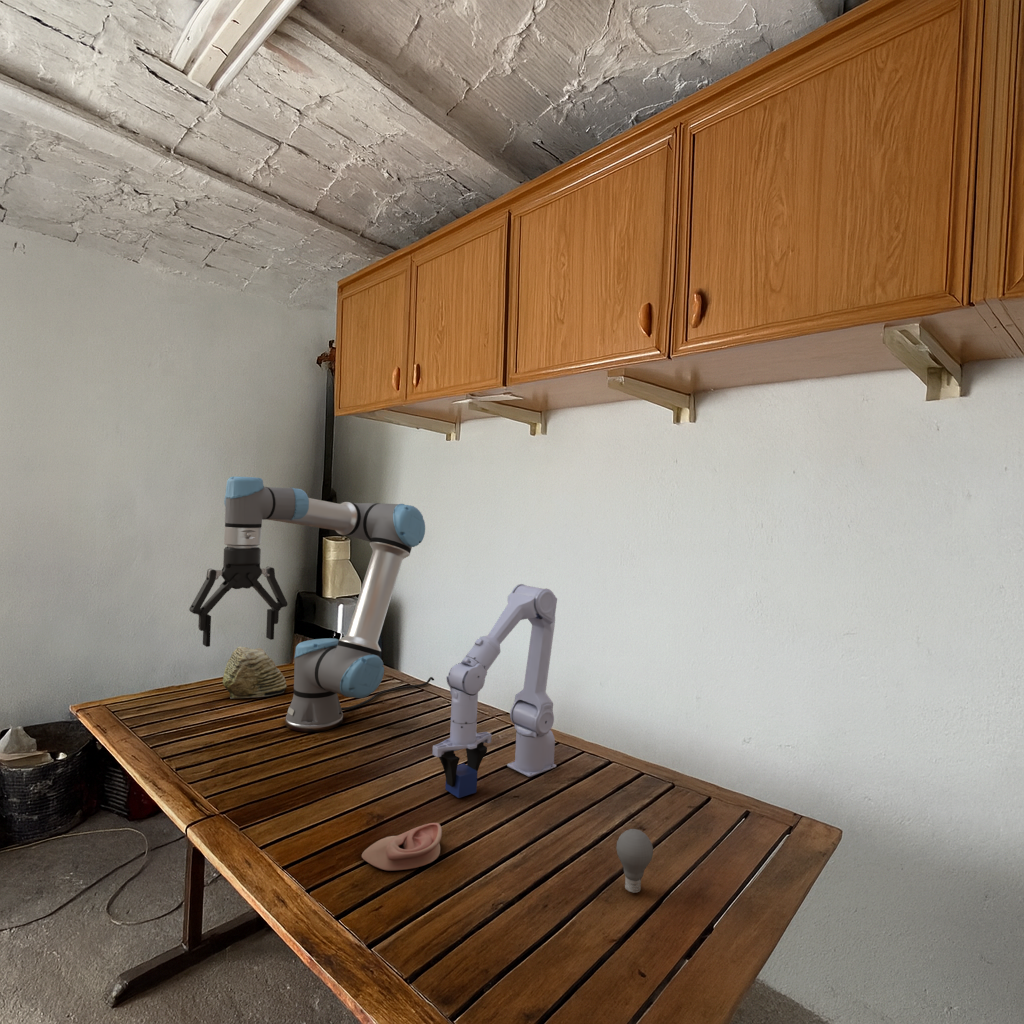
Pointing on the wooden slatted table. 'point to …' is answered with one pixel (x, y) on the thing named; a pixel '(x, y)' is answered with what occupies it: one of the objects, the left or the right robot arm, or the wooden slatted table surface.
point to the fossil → (252, 674)
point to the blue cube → (464, 781)
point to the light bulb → (634, 857)
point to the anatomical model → (406, 849)
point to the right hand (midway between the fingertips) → (461, 781)
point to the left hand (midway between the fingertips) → (239, 642)
